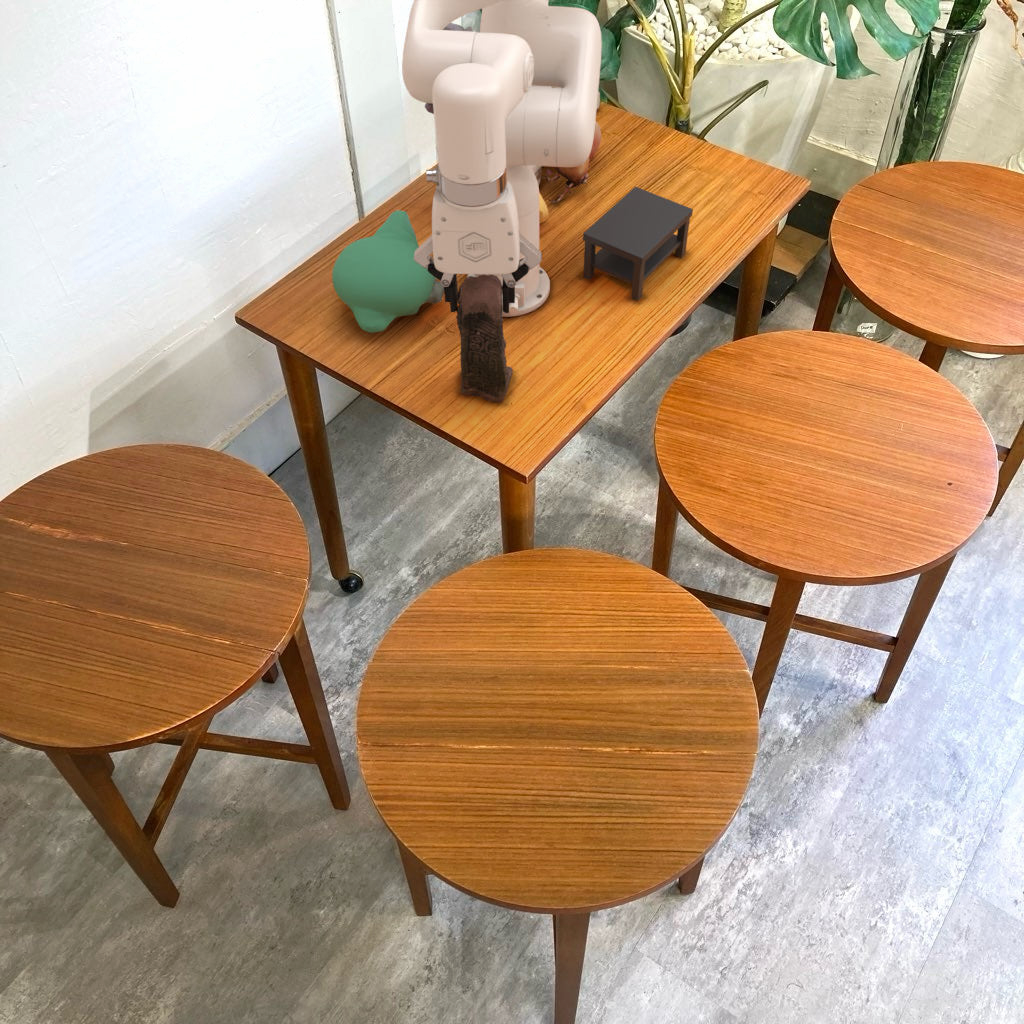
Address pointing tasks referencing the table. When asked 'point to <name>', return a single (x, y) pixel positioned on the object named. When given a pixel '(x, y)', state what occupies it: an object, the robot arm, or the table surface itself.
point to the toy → (384, 275)
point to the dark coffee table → (636, 238)
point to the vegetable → (570, 176)
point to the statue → (482, 339)
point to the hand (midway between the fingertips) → (480, 304)
